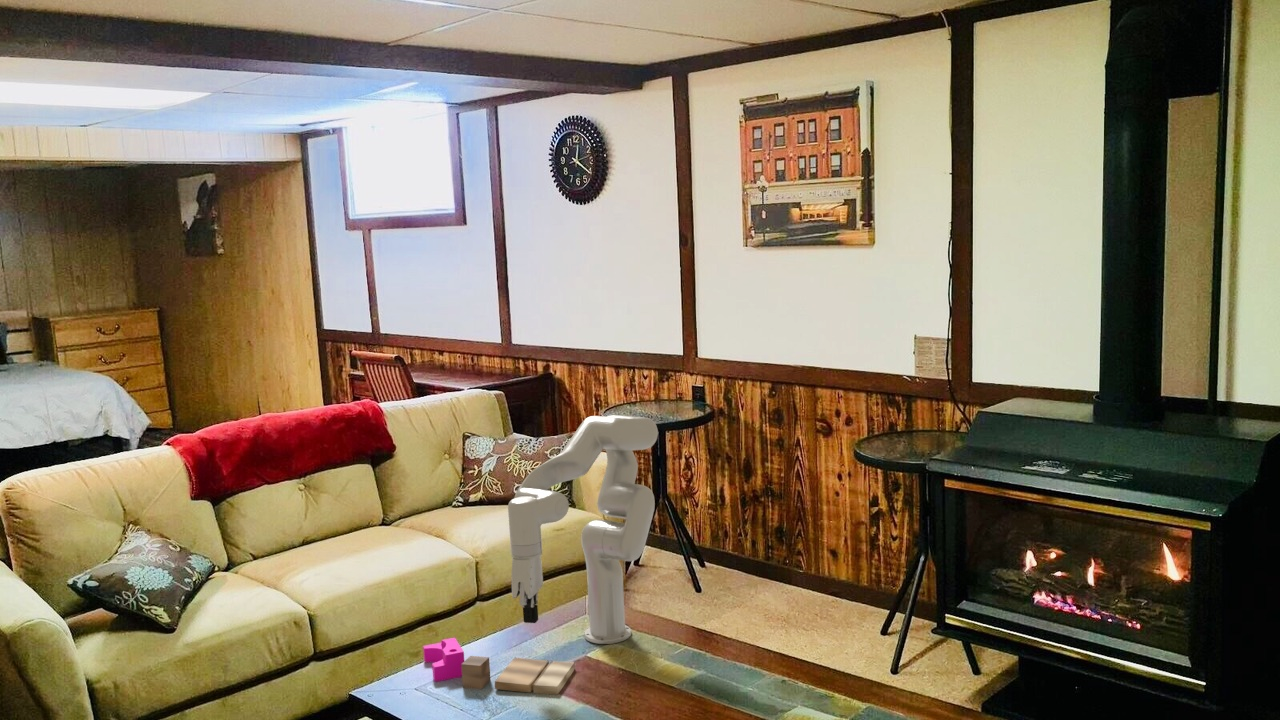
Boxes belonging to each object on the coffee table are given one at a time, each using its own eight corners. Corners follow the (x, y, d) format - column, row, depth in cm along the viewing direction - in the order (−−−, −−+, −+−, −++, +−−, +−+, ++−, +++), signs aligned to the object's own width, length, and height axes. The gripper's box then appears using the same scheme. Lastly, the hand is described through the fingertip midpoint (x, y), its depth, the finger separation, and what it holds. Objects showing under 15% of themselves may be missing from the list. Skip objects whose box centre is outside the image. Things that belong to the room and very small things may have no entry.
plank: (514, 664, 260) (514, 657, 259) (548, 668, 258) (548, 660, 257) (494, 688, 246) (494, 680, 246) (530, 692, 244) (530, 684, 244)
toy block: (463, 651, 255) (433, 657, 252) (465, 675, 255) (435, 681, 253) (451, 631, 268) (422, 636, 266) (452, 654, 269) (424, 659, 266)
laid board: (551, 668, 257) (551, 660, 257) (574, 669, 256) (574, 661, 256) (533, 693, 244) (533, 684, 244) (557, 694, 242) (557, 686, 242)
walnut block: (472, 678, 254) (470, 655, 253) (490, 680, 252) (489, 657, 251) (462, 687, 249) (461, 664, 248) (481, 689, 247) (480, 665, 247)
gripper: (522, 538, 255) (526, 609, 258) (500, 558, 241) (505, 632, 243) (551, 539, 253) (555, 610, 256) (530, 559, 239) (535, 634, 241)
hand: (531, 621), depth 249 cm, fingers closed
